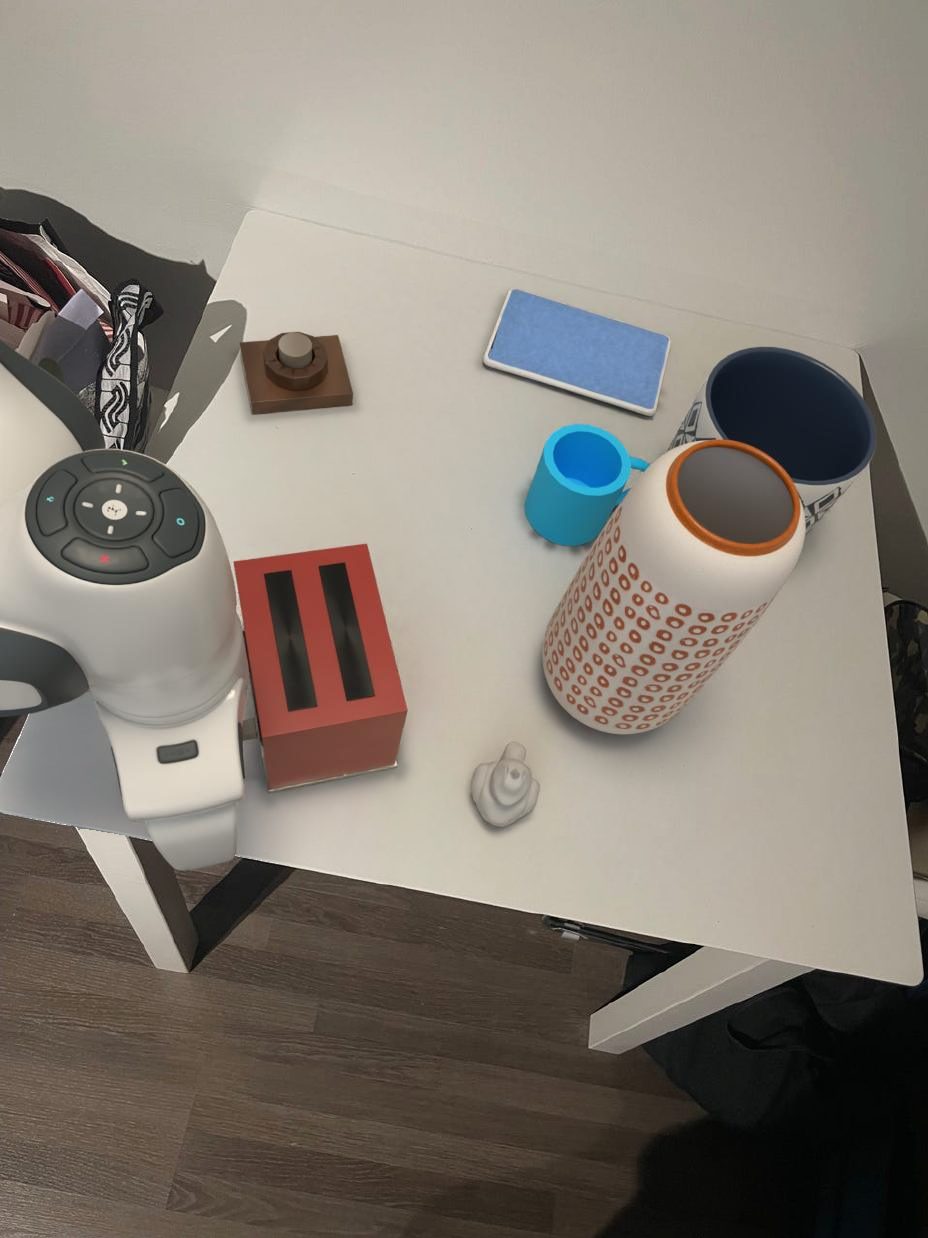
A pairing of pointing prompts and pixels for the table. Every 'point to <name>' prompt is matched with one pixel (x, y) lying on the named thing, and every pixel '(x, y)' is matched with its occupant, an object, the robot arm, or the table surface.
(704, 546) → the vase
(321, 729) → the toaster
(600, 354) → the tablet
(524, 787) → the rubber duck
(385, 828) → the table surface
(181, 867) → the robot arm
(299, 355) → the button
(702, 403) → the planter
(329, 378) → the control block
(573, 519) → the mug
